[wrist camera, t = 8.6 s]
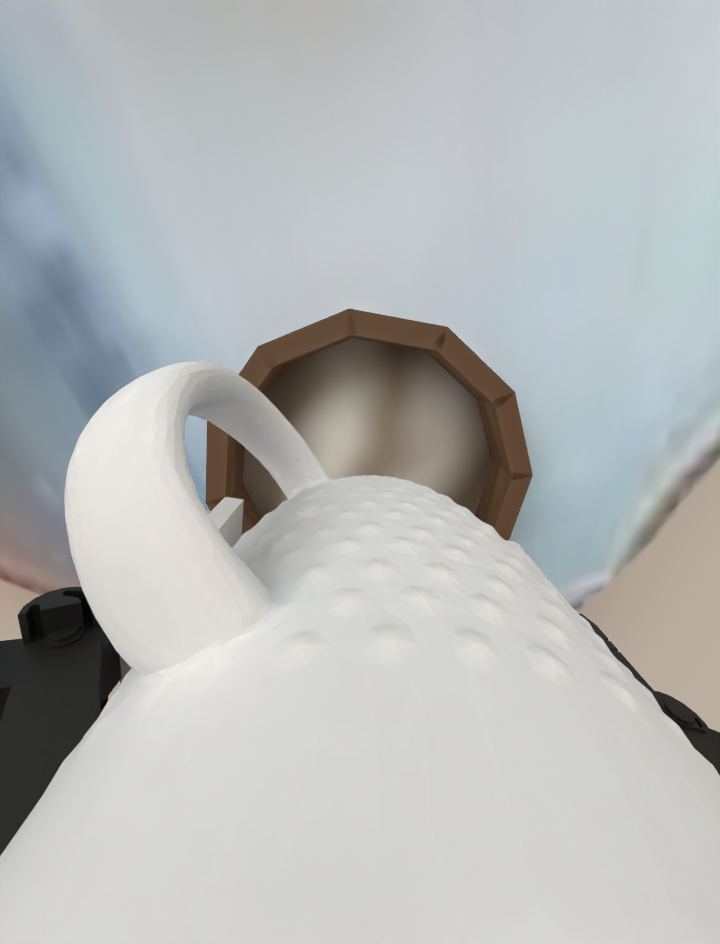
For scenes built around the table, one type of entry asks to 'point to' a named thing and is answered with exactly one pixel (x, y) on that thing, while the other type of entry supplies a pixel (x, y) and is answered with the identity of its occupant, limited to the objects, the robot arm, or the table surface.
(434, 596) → the mug
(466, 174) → the table surface
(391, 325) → the holder
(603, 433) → the table surface
